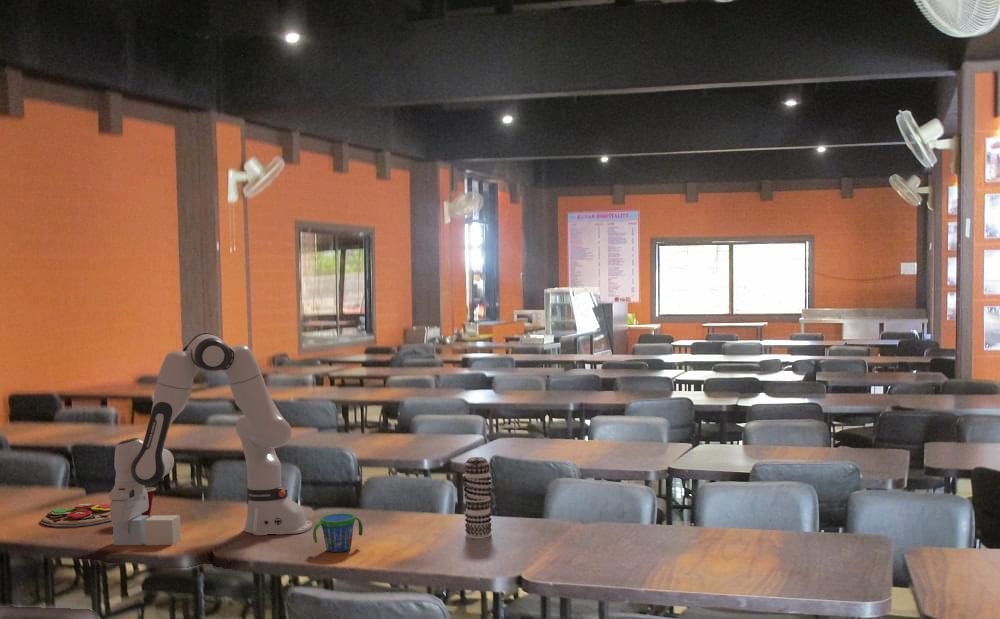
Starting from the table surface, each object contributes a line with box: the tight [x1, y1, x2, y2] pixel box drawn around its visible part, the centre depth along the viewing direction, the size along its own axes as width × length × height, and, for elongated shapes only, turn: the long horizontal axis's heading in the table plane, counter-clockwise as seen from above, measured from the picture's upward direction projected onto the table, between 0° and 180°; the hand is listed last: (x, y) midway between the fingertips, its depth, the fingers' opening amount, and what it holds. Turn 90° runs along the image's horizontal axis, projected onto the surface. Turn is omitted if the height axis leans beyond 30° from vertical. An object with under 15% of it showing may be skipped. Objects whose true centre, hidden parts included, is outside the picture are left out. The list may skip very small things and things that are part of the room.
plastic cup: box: [142, 486, 157, 518], centre depth 344 cm, size 11×11×12 cm
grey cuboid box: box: [144, 514, 182, 546], centre depth 316 cm, size 9×6×8 cm
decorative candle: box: [462, 456, 492, 539], centre depth 317 cm, size 9×9×25 cm
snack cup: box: [312, 512, 364, 553], centre depth 303 cm, size 16×10×10 cm
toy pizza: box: [40, 503, 112, 528], centre depth 352 cm, size 28×28×4 cm
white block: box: [112, 516, 149, 546], centre depth 316 cm, size 9×6×8 cm
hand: (131, 531), depth 316 cm, fingers closed on white block, 6 cm apart
